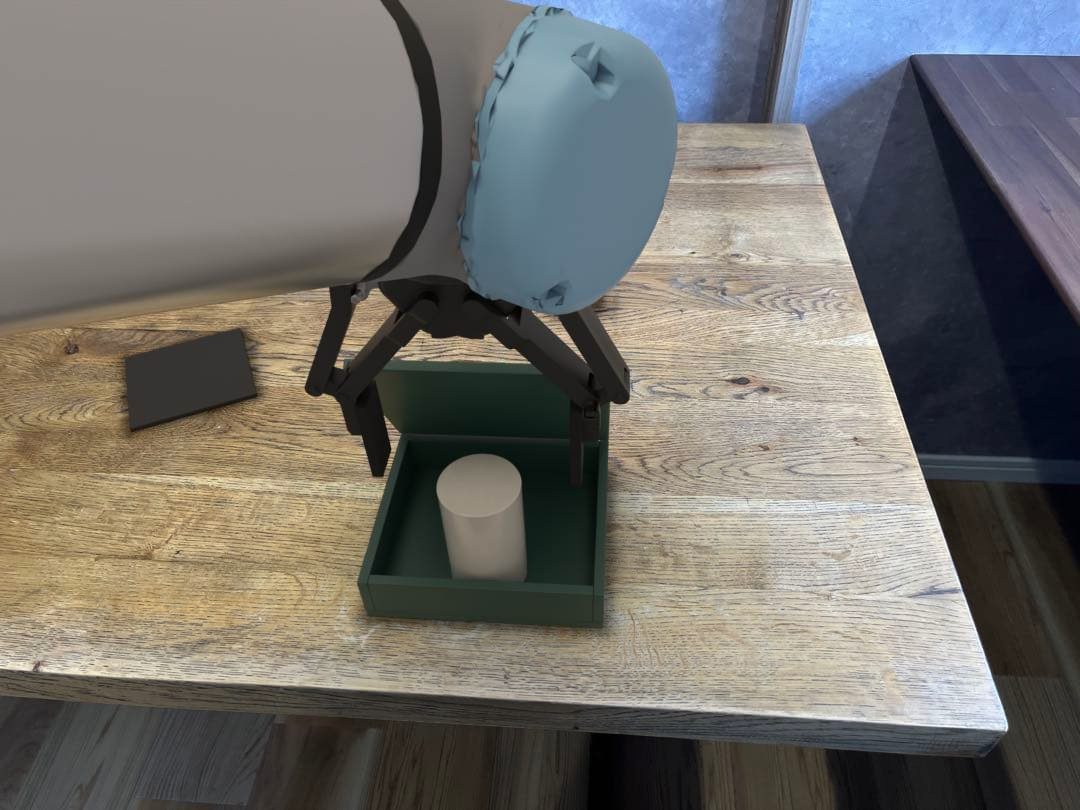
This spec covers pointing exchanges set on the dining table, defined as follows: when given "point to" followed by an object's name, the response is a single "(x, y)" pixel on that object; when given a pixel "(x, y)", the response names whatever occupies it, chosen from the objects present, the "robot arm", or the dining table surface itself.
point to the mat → (187, 378)
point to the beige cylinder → (483, 519)
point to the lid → (475, 400)
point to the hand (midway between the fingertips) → (478, 466)
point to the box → (550, 527)
